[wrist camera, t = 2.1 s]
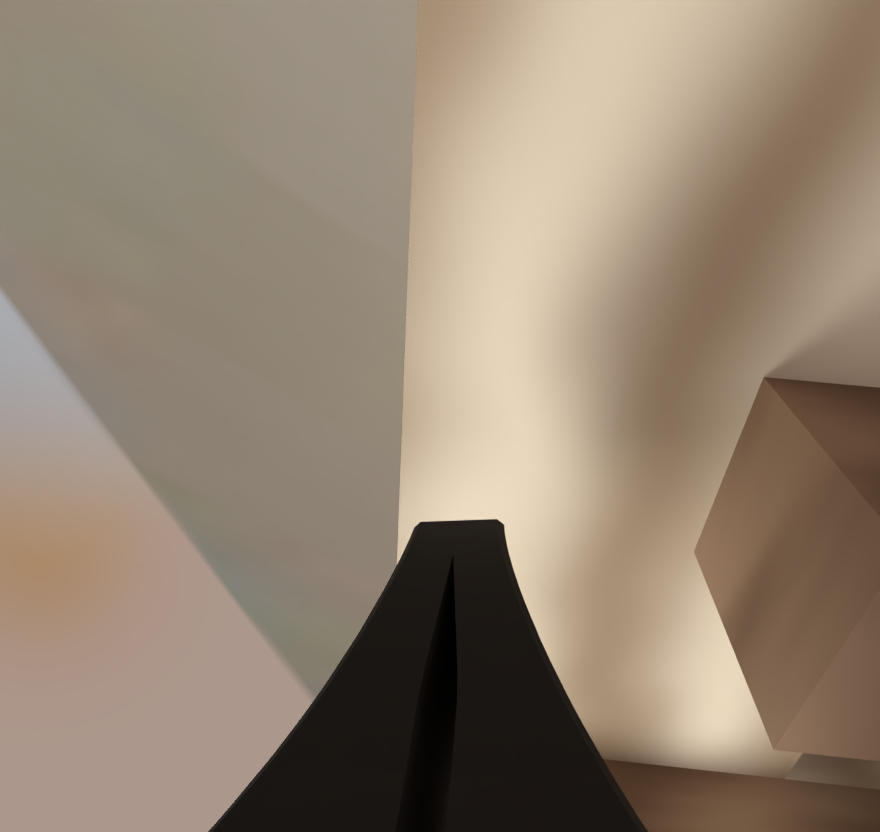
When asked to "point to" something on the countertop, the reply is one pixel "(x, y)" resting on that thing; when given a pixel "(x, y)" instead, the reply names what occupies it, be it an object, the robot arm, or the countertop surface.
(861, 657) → the walnut block
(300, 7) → the countertop surface
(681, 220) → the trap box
